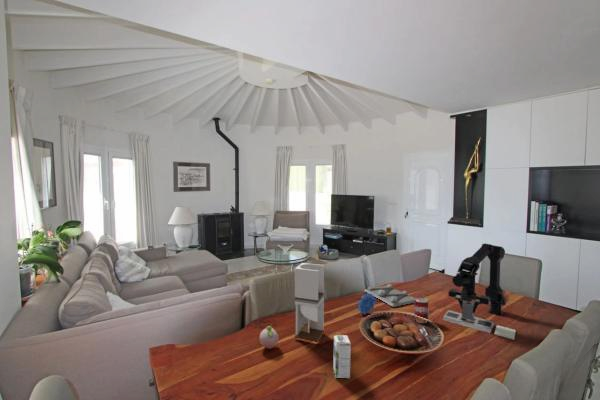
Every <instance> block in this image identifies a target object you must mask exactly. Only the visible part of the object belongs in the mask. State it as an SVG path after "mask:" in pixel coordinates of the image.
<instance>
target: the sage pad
mask: <svg viewBox="0 0 600 400" xmlns="http://www.w3.org/2000/svg"><path fill="white" fill-rule="evenodd" d="M493 335H495V336H500V337H501V338H506V339H509V340H513V341H514V340H515V337H516V329H512V328H510V327H506V326H501V325H496V327H495V331H494V333H493Z"/></svg>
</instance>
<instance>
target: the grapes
mask: <svg viewBox="0 0 600 400" xmlns="http://www.w3.org/2000/svg"><path fill="white" fill-rule="evenodd" d="M376 303H377V301H376V298H375V296H374V295H371V294H370V293H366V295H365V294H364V295H362V296H361V299H359V301H358V303H357V304H358V307H357V310H358V311H360V314H361V313H364V314H366V313H368V314H370V311H372V310H374V308H375V307H374V305H375V304H376Z"/></svg>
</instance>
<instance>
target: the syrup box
mask: <svg viewBox="0 0 600 400" xmlns="http://www.w3.org/2000/svg"><path fill="white" fill-rule="evenodd" d="M351 345H352V344H351V340H350V339H349V336H348V335H344V334H339V335H333V356H332V357H333V361H332V362H333V363H332V364H333V365H332V370H334V371H333V375H334V374H335V375H334V378H335V379H336V378H347V379H351V350H352V349H351V348H352V347H351Z"/></svg>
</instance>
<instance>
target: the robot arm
mask: <svg viewBox="0 0 600 400" xmlns="http://www.w3.org/2000/svg"><path fill="white" fill-rule="evenodd" d="M505 254H506V251H505V248H504V247H503V246H500V245H493V244H489V243H482V244H481V246H480V247H479V249H477V251H475V252H474V254H473V255H471V256H469V257H466V258H464V259H463V260H462V261H461V263H460V265H459V266H458V269H457V272H456V275H454V276H453V277H452V279H451V280H452V284H453V285H454V286H455V287H458V288H460V287H462V289H461V292H460V291H459V290H458V289H455V288H451V289H449V291H448V297H452V298H455V300H457V301H458V303H459V306H460V308H461V310H462V303H463V301H464V300H465V301H468V302H473V301H474V310H473V313H474V314H475V312H476V311H477V308H478V306H479V305H482V304H483V305H487V306H488V305H489V309H488V311H487V312H488V313H490V314H494V315H497V316H503V313H504V312H503V310H502V309H503V308H502V307H503V306H506V304H507V299H506V297H505V296H504V291H503V289H502V288H501V281H500V280H501V261H502V260H503V259H504V257H505ZM485 258H488V260H489V285H488V286H487V287H485V289H484V290H485V292H484V295H483V294H481V295H477V293H476V276H478V273H477V272H478V270H479V269H480V268H481V267H480V264H481V263H482V261H483V260H484V259H485Z"/></svg>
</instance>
